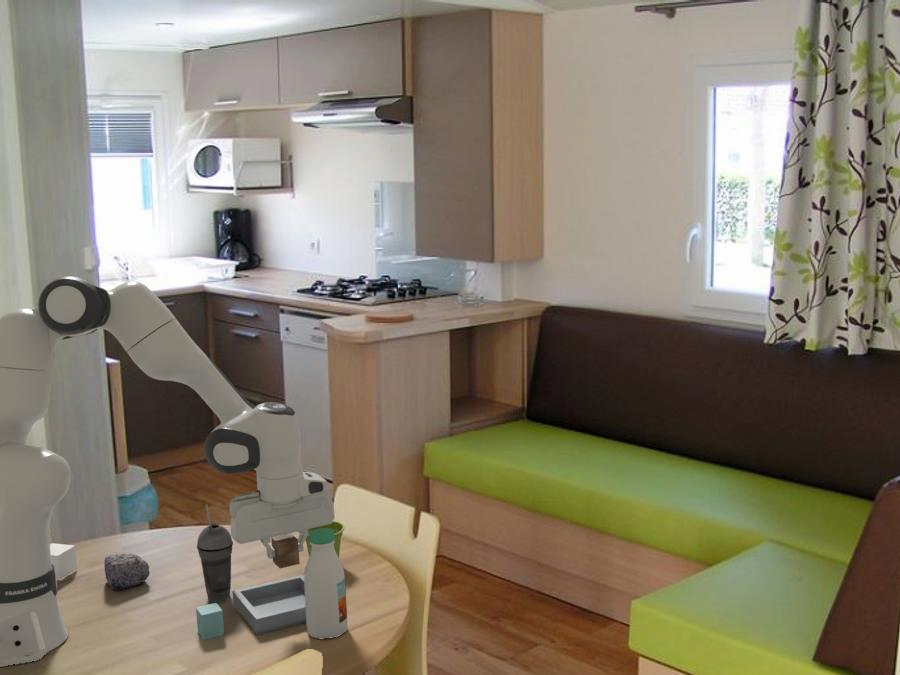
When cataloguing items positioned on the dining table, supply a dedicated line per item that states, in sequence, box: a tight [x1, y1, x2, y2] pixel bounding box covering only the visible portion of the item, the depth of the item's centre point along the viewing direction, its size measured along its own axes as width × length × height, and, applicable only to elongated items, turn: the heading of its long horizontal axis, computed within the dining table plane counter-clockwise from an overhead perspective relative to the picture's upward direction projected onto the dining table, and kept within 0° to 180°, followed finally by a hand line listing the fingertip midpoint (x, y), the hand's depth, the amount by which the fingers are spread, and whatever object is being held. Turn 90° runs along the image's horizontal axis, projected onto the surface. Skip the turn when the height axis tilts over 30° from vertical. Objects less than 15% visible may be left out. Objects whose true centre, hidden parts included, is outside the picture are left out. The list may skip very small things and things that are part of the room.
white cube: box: [50, 542, 78, 579], centre depth 238 cm, size 6×6×6 cm
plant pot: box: [305, 520, 345, 559], centre depth 238 cm, size 9×9×9 cm
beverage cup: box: [196, 504, 234, 603], centre depth 222 cm, size 7×7×20 cm
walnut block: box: [270, 533, 300, 569], centre depth 211 cm, size 4×4×5 cm
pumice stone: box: [103, 553, 150, 591], centre depth 231 cm, size 10×8×10 cm
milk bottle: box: [303, 528, 348, 639], centre depth 205 cm, size 8×8×20 cm
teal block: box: [195, 602, 225, 641], centre depth 208 cm, size 4×4×5 cm
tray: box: [231, 574, 307, 636], centre depth 216 cm, size 15×15×3 cm
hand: (285, 554), depth 211 cm, fingers closed on walnut block, 4 cm apart
